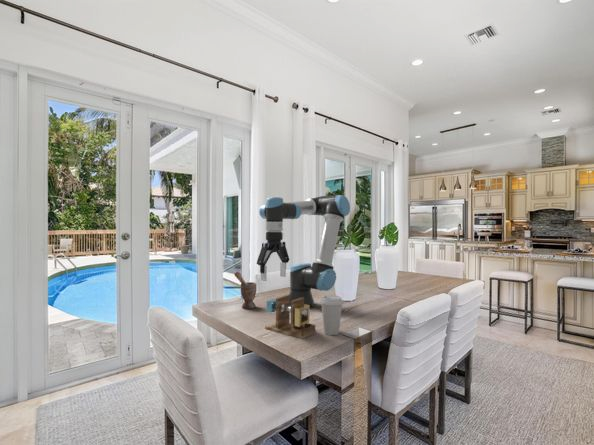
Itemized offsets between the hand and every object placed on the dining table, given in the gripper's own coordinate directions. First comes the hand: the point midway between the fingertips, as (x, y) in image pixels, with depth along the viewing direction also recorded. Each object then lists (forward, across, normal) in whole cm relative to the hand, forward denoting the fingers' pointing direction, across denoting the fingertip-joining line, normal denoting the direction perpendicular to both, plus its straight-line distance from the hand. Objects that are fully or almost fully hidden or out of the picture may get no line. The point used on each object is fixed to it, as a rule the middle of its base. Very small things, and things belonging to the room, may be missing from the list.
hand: (273, 278), depth 141 cm
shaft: (+15, 0, -8) cm, 17 cm away
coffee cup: (+21, +8, -26) cm, 34 cm away
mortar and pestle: (+21, +13, +30) cm, 39 cm away
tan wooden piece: (+14, 0, -16) cm, 21 cm away
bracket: (+21, 0, -10) cm, 23 cm away
